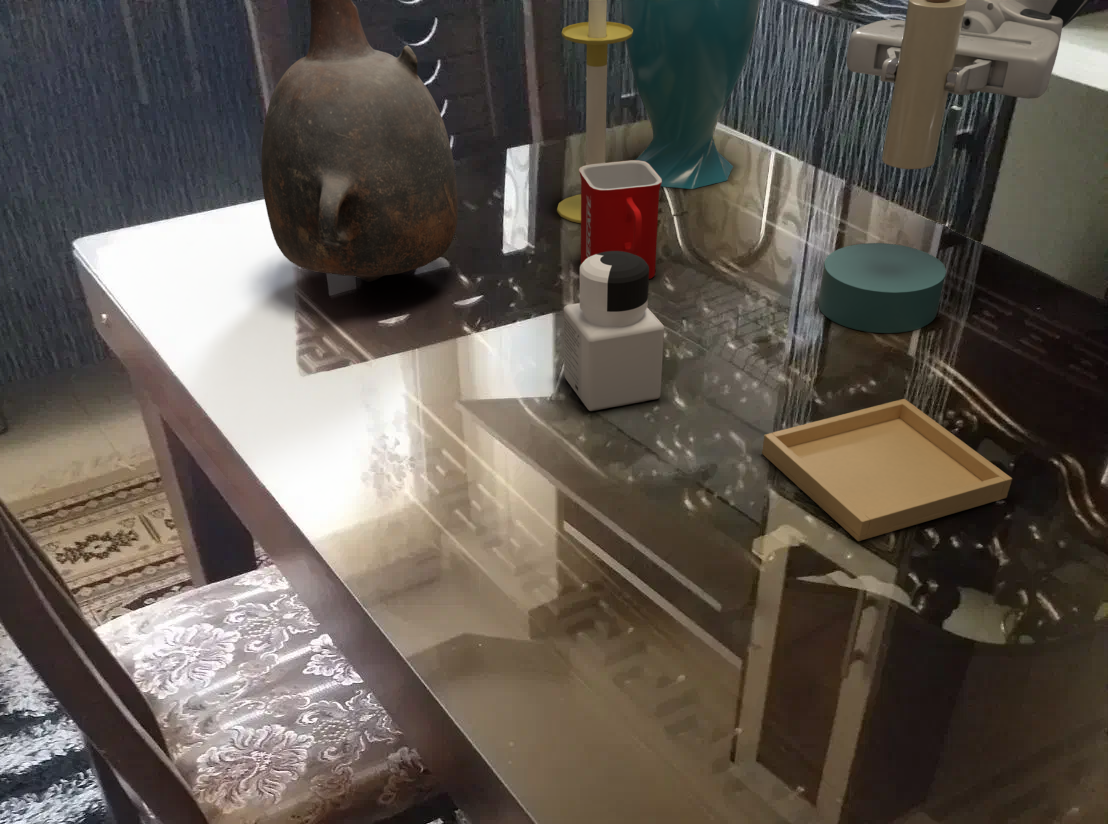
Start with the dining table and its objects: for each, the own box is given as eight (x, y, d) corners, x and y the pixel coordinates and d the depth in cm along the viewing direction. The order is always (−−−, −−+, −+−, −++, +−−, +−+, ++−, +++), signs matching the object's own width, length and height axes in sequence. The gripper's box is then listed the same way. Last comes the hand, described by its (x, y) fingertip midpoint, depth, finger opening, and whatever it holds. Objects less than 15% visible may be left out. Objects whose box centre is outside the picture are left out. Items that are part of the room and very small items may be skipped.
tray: (900, 417, 111) (904, 398, 110) (1006, 498, 101) (1012, 478, 100) (761, 453, 107) (764, 434, 106) (858, 541, 97) (862, 521, 96)
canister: (913, 148, 119) (946, -25, 108) (945, 164, 116) (981, -14, 105) (871, 156, 118) (900, -18, 107) (902, 172, 114) (934, -6, 103)
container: (633, 365, 120) (637, 238, 110) (661, 399, 115) (669, 269, 105) (563, 377, 118) (562, 250, 109) (588, 413, 113) (589, 282, 104)
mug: (575, 259, 139) (575, 165, 131) (641, 252, 140) (645, 159, 133) (600, 301, 131) (602, 204, 123) (670, 293, 132) (675, 196, 124)
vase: (662, 201, 152) (677, -75, 130) (595, 162, 162) (599, -98, 141) (768, 176, 157) (798, -92, 136) (696, 140, 168) (714, -113, 147)
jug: (490, 306, 130) (473, -2, 109) (303, 339, 125) (248, 22, 104) (430, 228, 146) (406, -54, 125) (263, 254, 142) (208, -34, 120)
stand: (890, 274, 134) (898, 235, 131) (961, 318, 126) (971, 278, 123) (795, 295, 131) (801, 255, 128) (861, 342, 122) (869, 301, 119)
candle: (648, 207, 150) (664, -154, 124) (600, 230, 145) (607, -141, 118) (589, 189, 155) (592, -162, 128) (541, 212, 150) (534, -150, 123)
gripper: (882, -4, 121) (826, 26, 113) (1080, 20, 112) (1033, 54, 104) (872, 64, 125) (817, 97, 117) (1061, 92, 117) (1015, 130, 109)
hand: (920, 77), depth 111 cm, fingers closed on canister, 5 cm apart
